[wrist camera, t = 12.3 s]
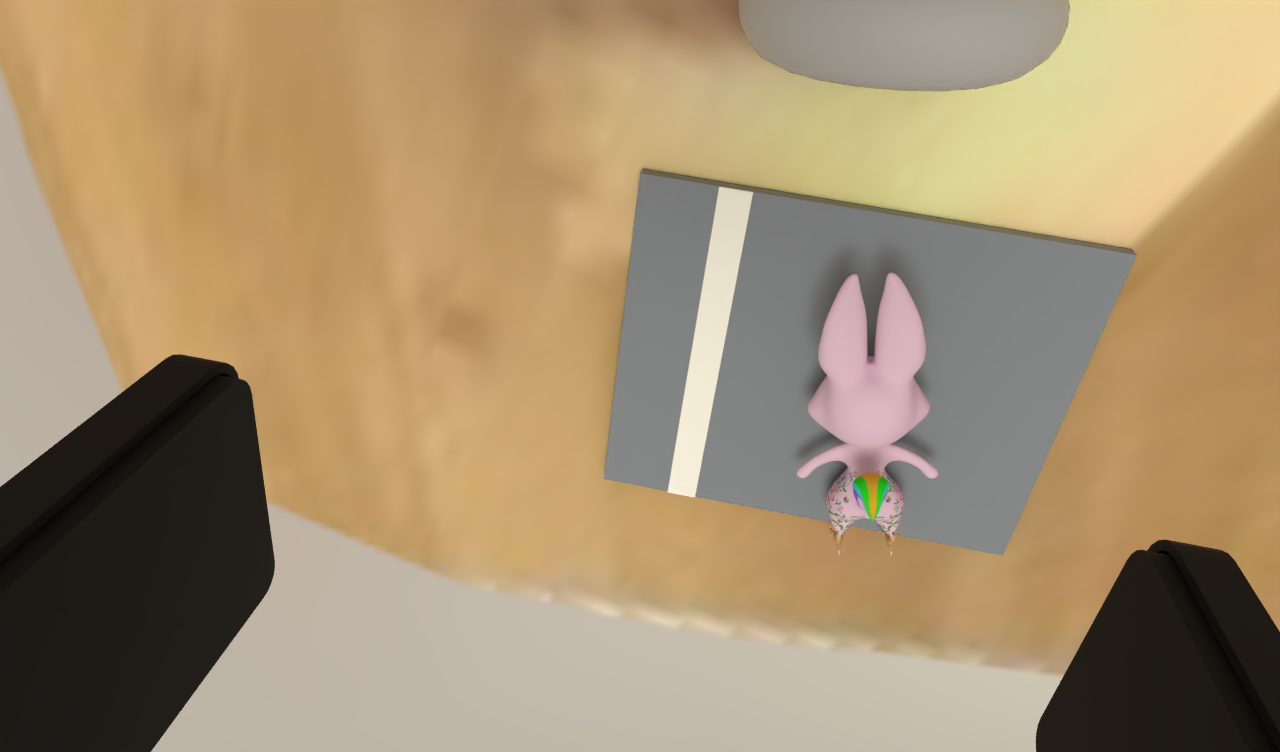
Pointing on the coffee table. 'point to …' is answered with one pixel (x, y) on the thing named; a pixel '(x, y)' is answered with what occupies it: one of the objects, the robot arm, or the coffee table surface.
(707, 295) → the mat
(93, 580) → the robot arm
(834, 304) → the rabbit figure
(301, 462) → the coffee table surface
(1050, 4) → the donut
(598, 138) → the coffee table surface
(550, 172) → the coffee table surface
